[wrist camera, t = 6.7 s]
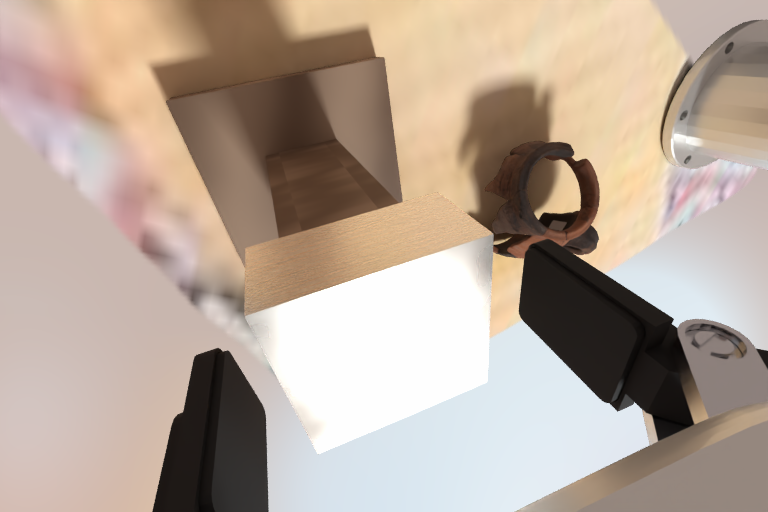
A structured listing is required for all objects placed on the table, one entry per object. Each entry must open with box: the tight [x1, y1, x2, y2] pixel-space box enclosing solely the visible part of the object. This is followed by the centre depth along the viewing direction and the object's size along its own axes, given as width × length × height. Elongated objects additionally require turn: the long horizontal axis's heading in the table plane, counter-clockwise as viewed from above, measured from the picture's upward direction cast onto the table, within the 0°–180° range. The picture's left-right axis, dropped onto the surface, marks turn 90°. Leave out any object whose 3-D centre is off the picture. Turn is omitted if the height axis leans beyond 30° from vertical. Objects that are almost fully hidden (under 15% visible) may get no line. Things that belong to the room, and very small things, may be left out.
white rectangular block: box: [245, 192, 494, 454], centre depth 15 cm, size 6×6×15 cm
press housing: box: [166, 57, 403, 267], centre depth 18 cm, size 12×12×12 cm
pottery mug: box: [484, 141, 600, 258], centre depth 28 cm, size 12×10×8 cm
